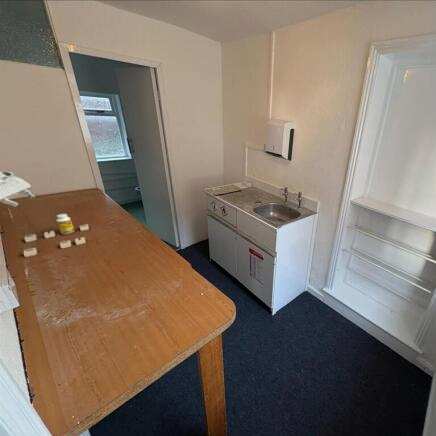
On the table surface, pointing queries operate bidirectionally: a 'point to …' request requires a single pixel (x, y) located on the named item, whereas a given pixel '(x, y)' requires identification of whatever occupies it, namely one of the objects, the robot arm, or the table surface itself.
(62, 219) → the supplement bottle
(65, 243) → the front word
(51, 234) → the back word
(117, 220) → the table surface
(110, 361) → the table surface
